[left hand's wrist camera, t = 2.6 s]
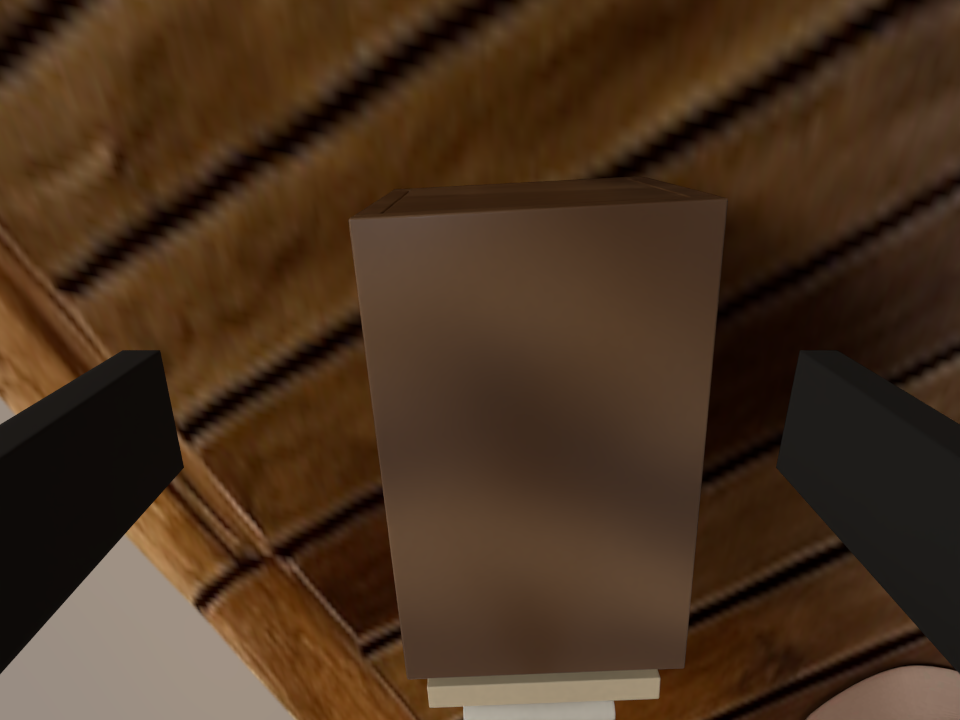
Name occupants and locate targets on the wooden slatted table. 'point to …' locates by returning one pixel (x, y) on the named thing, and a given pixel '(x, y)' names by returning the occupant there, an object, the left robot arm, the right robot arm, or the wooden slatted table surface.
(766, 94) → the wooden slatted table surface
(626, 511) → the tall brown box
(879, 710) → the anatomical model
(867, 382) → the left robot arm
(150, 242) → the wooden slatted table surface
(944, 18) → the wooden slatted table surface
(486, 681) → the drawer
